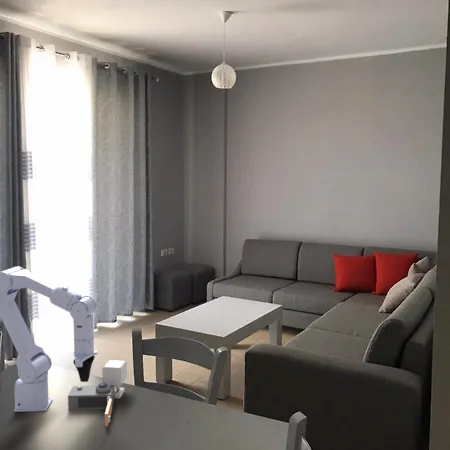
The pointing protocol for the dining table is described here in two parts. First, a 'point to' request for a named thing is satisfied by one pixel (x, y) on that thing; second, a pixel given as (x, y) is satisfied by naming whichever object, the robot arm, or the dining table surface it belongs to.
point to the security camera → (115, 375)
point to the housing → (90, 396)
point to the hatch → (108, 410)
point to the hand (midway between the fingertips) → (84, 380)
